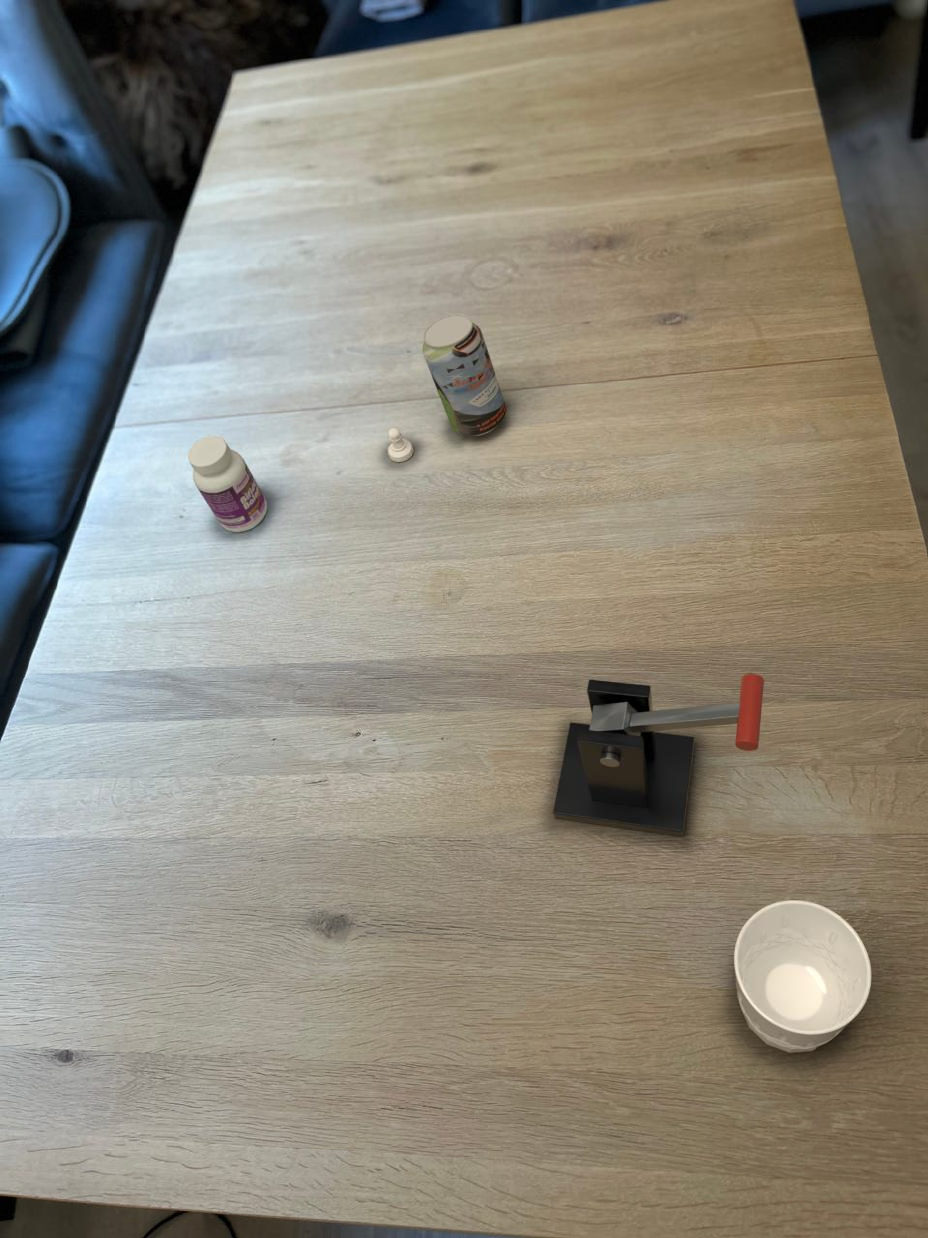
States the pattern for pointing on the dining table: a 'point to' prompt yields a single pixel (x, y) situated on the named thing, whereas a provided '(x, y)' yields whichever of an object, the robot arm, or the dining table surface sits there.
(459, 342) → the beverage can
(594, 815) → the switch bracket
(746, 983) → the white cup
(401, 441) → the chess pawn
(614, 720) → the power lever
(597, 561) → the dining table surface
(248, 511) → the pill bottle
